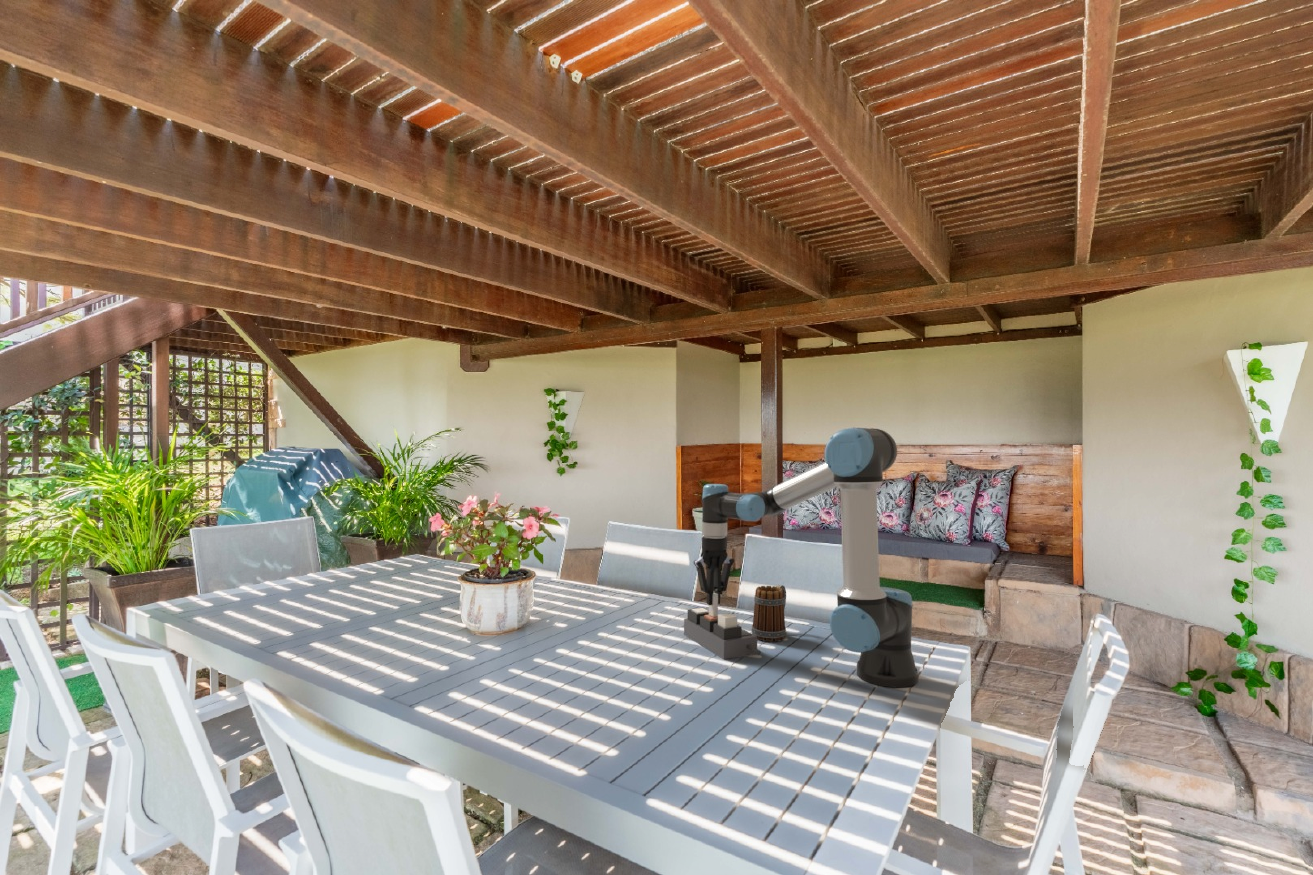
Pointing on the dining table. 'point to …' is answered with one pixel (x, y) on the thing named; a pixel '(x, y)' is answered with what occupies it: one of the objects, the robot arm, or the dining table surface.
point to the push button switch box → (720, 637)
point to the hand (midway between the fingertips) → (713, 615)
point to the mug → (769, 613)
